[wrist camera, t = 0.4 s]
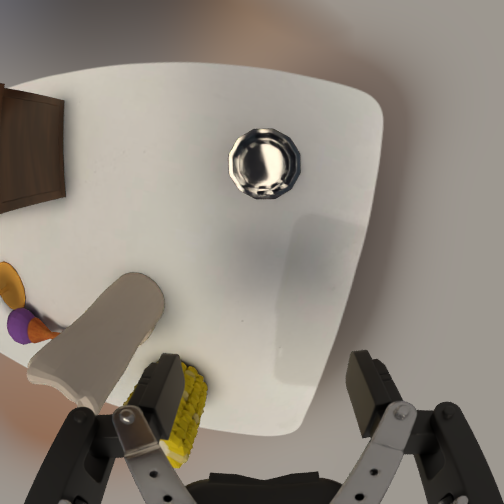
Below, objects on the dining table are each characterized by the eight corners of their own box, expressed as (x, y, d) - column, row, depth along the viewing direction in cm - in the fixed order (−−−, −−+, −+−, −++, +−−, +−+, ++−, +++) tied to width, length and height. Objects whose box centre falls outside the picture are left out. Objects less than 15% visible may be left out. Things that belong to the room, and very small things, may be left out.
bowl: (233, 136, 28) (227, 130, 23) (293, 135, 27) (299, 128, 22) (235, 195, 29) (229, 200, 24) (294, 193, 29) (301, 198, 24)
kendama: (103, 377, 32) (10, 346, 31) (116, 348, 37) (26, 324, 37) (91, 349, 29) (-4, 319, 29) (108, 319, 35) (14, 298, 34)
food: (162, 394, 40) (148, 343, 38) (230, 410, 37) (223, 357, 34) (110, 456, 26) (80, 404, 23) (188, 489, 23) (166, 442, 20)
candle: (95, 334, 35) (19, 427, 16) (125, 261, 32) (14, 353, 13) (135, 362, 36) (76, 468, 17) (174, 294, 33) (96, 418, 14)
